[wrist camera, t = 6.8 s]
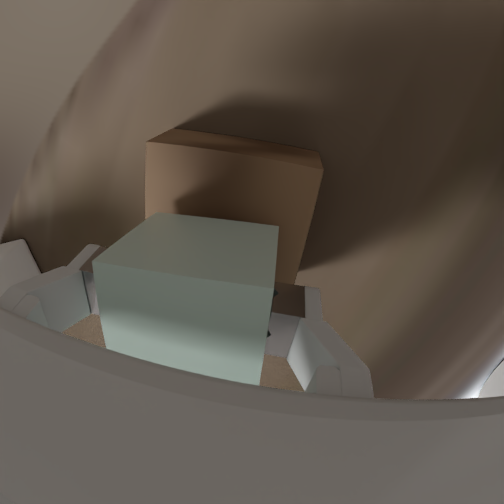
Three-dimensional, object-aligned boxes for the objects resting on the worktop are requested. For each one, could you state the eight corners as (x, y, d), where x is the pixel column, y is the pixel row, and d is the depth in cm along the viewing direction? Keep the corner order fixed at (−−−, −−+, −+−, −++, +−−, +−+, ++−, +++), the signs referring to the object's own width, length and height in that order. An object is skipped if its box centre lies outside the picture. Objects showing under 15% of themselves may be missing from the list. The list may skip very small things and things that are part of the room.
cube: (278, 226, 12) (273, 288, 8) (264, 331, 14) (253, 415, 10) (156, 211, 13) (91, 261, 8) (159, 314, 15) (115, 386, 10)
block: (318, 151, 14) (323, 170, 11) (288, 274, 18) (286, 310, 15) (172, 128, 14) (146, 141, 12) (167, 250, 18) (147, 281, 15)
